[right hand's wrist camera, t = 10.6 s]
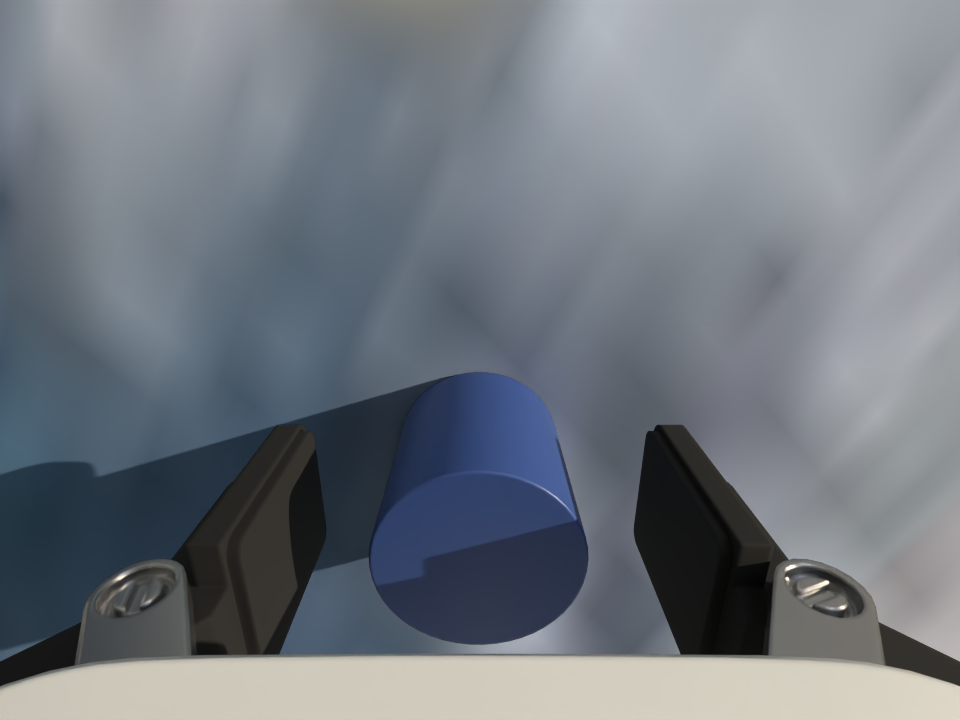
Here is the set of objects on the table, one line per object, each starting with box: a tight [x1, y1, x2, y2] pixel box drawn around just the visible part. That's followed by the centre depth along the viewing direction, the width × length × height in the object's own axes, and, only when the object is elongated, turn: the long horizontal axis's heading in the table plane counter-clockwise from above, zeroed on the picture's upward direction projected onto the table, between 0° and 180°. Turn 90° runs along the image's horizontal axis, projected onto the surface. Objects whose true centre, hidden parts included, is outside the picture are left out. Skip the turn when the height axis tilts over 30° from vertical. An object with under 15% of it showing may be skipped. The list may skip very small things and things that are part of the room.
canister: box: [369, 372, 588, 645], centre depth 12 cm, size 4×4×4 cm
